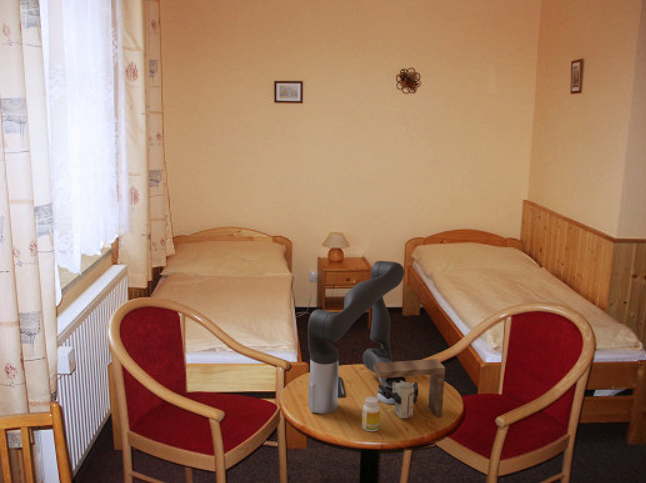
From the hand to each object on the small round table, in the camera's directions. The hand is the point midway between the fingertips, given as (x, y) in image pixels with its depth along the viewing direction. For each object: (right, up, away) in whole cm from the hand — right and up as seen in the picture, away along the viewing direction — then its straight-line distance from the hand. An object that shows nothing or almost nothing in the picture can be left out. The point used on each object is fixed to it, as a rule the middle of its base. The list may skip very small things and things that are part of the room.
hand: (407, 401), depth 195 cm
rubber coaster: (-3, -3, +16) cm, 17 cm away
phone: (-24, -2, +23) cm, 33 cm away
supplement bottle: (-12, -8, -3) cm, 15 cm away
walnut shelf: (0, -6, +5) cm, 8 cm away
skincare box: (-1, -6, +4) cm, 7 cm away
